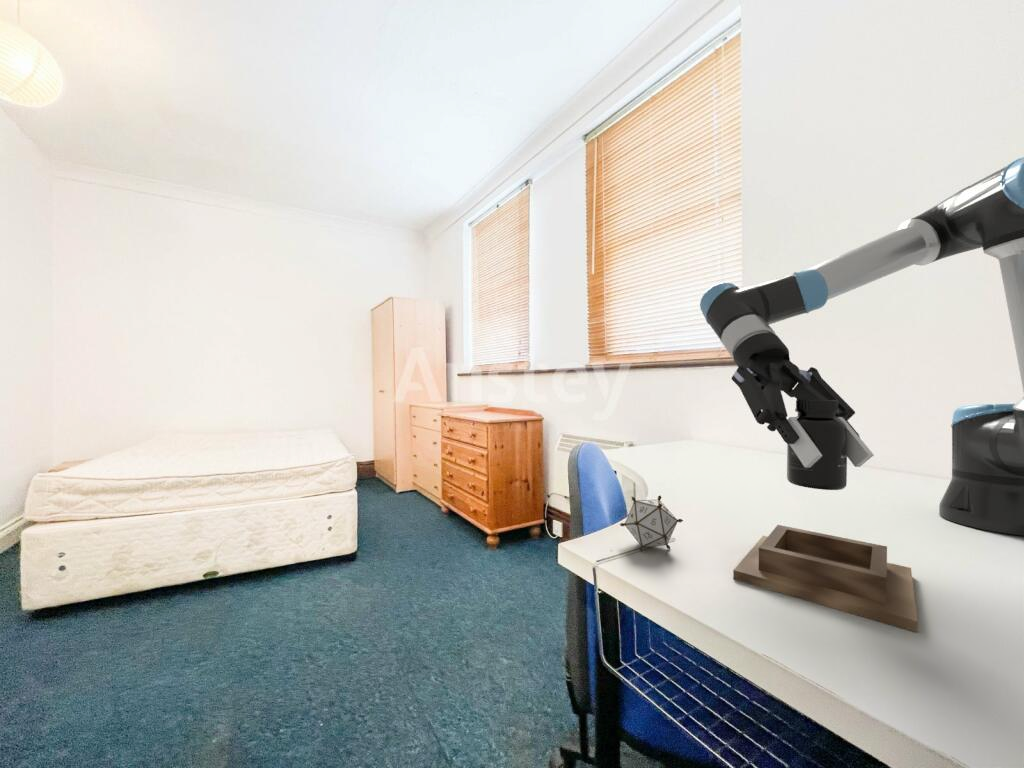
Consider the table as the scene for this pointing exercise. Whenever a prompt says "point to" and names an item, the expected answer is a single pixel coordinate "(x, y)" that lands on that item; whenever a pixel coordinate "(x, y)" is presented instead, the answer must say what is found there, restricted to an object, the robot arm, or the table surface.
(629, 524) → the game die
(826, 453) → the supplement bottle
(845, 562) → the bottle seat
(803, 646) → the table surface
